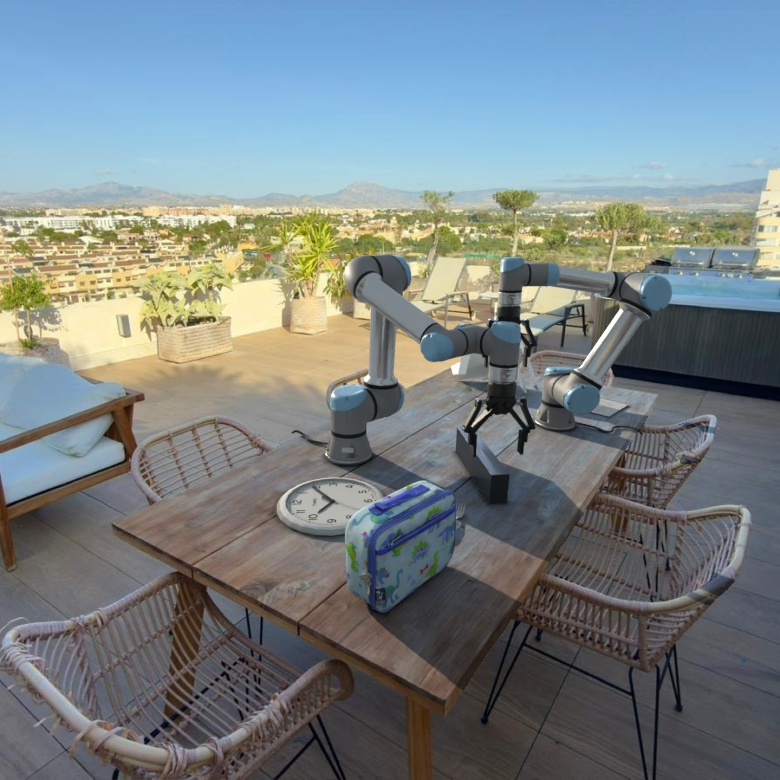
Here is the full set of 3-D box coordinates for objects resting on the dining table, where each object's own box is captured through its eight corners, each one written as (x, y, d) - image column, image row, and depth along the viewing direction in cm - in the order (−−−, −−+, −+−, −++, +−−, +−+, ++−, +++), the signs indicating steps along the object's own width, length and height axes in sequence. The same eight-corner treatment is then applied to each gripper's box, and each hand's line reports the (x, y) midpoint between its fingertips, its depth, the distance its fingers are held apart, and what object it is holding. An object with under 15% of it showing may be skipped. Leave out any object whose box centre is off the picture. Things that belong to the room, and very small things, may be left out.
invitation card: (608, 416, 214) (573, 407, 224) (608, 416, 214) (573, 408, 224) (628, 404, 229) (594, 396, 238) (628, 405, 229) (594, 397, 238)
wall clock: (392, 527, 129) (268, 531, 127) (391, 533, 130) (269, 537, 127) (383, 473, 158) (282, 475, 155) (383, 478, 158) (282, 480, 156)
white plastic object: (472, 423, 260) (450, 400, 235) (454, 348, 282) (432, 320, 258) (544, 398, 248) (529, 371, 223) (519, 323, 270) (503, 291, 245)
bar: (455, 451, 178) (456, 427, 176) (470, 451, 179) (471, 426, 176) (488, 504, 145) (491, 475, 142) (506, 503, 145) (509, 474, 143)
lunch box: (374, 626, 100) (375, 530, 93) (338, 598, 107) (337, 508, 101) (459, 568, 117) (465, 484, 111) (424, 547, 124) (427, 467, 118)
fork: (441, 539, 128) (441, 532, 127) (456, 508, 142) (456, 501, 141) (451, 541, 127) (452, 534, 126) (465, 510, 141) (466, 503, 141)
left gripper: (460, 386, 134) (456, 461, 140) (552, 383, 137) (545, 457, 143) (453, 378, 141) (449, 450, 147) (541, 375, 144) (533, 446, 151)
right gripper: (474, 306, 170) (471, 369, 177) (549, 306, 171) (544, 368, 178) (470, 303, 178) (467, 363, 184) (542, 303, 178) (537, 363, 185)
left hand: (496, 454), depth 145 cm, fingers open, 13 cm apart
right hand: (505, 366), depth 181 cm, fingers open, 13 cm apart
